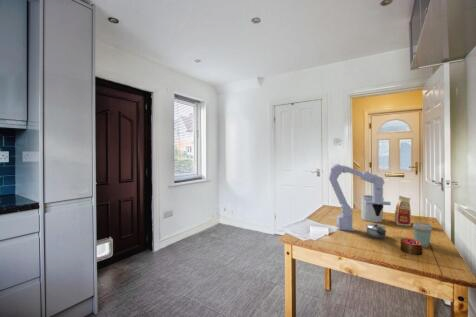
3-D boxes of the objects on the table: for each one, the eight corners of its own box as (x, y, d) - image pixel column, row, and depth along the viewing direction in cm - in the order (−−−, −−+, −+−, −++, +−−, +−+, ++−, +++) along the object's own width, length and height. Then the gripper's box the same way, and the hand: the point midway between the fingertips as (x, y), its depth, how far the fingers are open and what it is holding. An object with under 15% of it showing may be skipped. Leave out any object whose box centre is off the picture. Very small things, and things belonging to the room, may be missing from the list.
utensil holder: (383, 218, 178) (383, 195, 177) (383, 223, 166) (383, 199, 165) (361, 215, 186) (362, 194, 185) (360, 220, 174) (360, 197, 173)
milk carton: (397, 224, 163) (397, 196, 163) (394, 220, 172) (394, 194, 171) (412, 226, 160) (413, 197, 159) (408, 222, 168) (409, 195, 168)
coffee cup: (433, 250, 122) (433, 227, 122) (413, 246, 127) (413, 225, 126) (430, 244, 130) (430, 223, 129) (411, 241, 134) (411, 220, 134)
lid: (363, 224, 149) (363, 221, 149) (381, 225, 147) (381, 222, 147) (373, 233, 134) (373, 230, 133) (393, 234, 132) (393, 230, 132)
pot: (362, 231, 151) (362, 224, 151) (379, 232, 149) (379, 224, 149) (373, 241, 134) (373, 233, 134) (392, 242, 133) (392, 234, 132)
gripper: (368, 195, 147) (367, 217, 147) (393, 196, 144) (392, 217, 145) (363, 193, 154) (363, 214, 154) (387, 194, 151) (387, 214, 152)
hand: (377, 215), depth 150 cm, fingers closed
